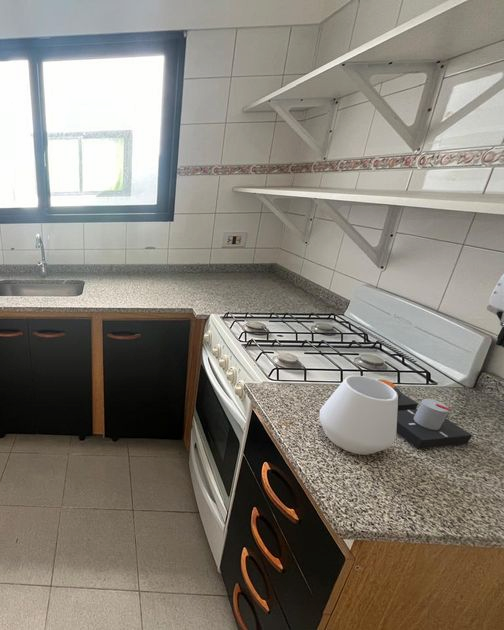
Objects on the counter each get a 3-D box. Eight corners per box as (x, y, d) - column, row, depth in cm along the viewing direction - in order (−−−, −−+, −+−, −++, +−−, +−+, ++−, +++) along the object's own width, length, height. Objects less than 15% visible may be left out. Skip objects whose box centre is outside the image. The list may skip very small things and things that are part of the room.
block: (382, 388, 93) (387, 376, 91) (415, 410, 85) (421, 397, 83) (344, 391, 92) (349, 379, 90) (374, 414, 83) (380, 401, 82)
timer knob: (410, 421, 78) (420, 402, 75) (416, 413, 80) (425, 395, 78) (437, 432, 74) (447, 413, 72) (442, 424, 77) (452, 405, 74)
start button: (383, 384, 88) (385, 378, 88) (396, 393, 85) (399, 387, 84) (370, 385, 88) (373, 380, 87) (383, 394, 85) (386, 388, 84)
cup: (384, 474, 68) (411, 418, 62) (307, 439, 76) (324, 387, 70) (391, 437, 76) (416, 386, 71) (321, 410, 85) (338, 362, 79)
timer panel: (425, 416, 83) (429, 407, 82) (467, 443, 75) (472, 434, 74) (380, 420, 82) (384, 411, 80) (418, 449, 73) (423, 439, 72)
